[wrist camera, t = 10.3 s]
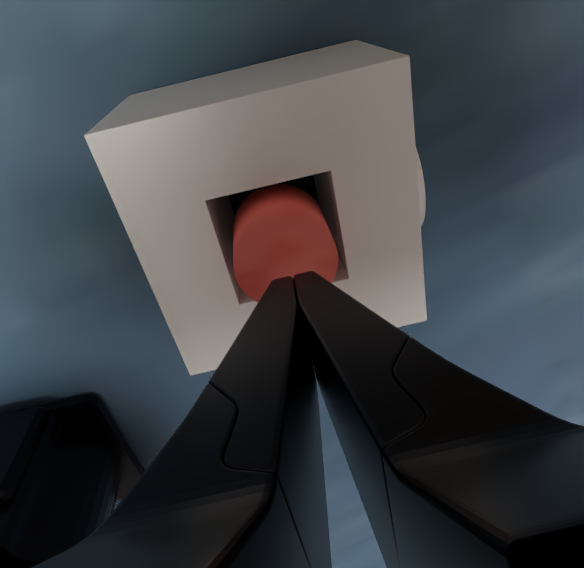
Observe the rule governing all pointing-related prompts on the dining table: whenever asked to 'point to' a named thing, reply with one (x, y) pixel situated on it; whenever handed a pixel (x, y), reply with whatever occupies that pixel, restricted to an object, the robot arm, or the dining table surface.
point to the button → (280, 238)
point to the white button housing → (269, 182)
